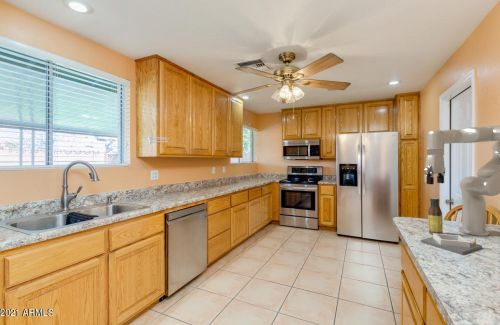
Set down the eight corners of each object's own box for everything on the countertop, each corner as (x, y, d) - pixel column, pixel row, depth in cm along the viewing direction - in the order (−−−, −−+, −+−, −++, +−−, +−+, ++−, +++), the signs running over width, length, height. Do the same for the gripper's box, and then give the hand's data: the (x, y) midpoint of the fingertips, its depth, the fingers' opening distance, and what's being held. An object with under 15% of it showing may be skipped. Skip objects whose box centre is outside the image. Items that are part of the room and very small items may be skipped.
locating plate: (440, 237, 126) (440, 229, 126) (482, 248, 111) (482, 239, 111) (420, 242, 119) (420, 233, 119) (461, 254, 104) (462, 245, 104)
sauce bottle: (445, 236, 128) (445, 199, 127) (432, 235, 129) (432, 199, 129) (438, 232, 134) (438, 197, 134) (425, 231, 136) (425, 197, 135)
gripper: (437, 152, 138) (437, 182, 138) (418, 153, 131) (418, 184, 131) (452, 152, 131) (452, 183, 131) (433, 152, 124) (433, 185, 124)
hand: (435, 183), depth 131 cm, fingers open, 9 cm apart
